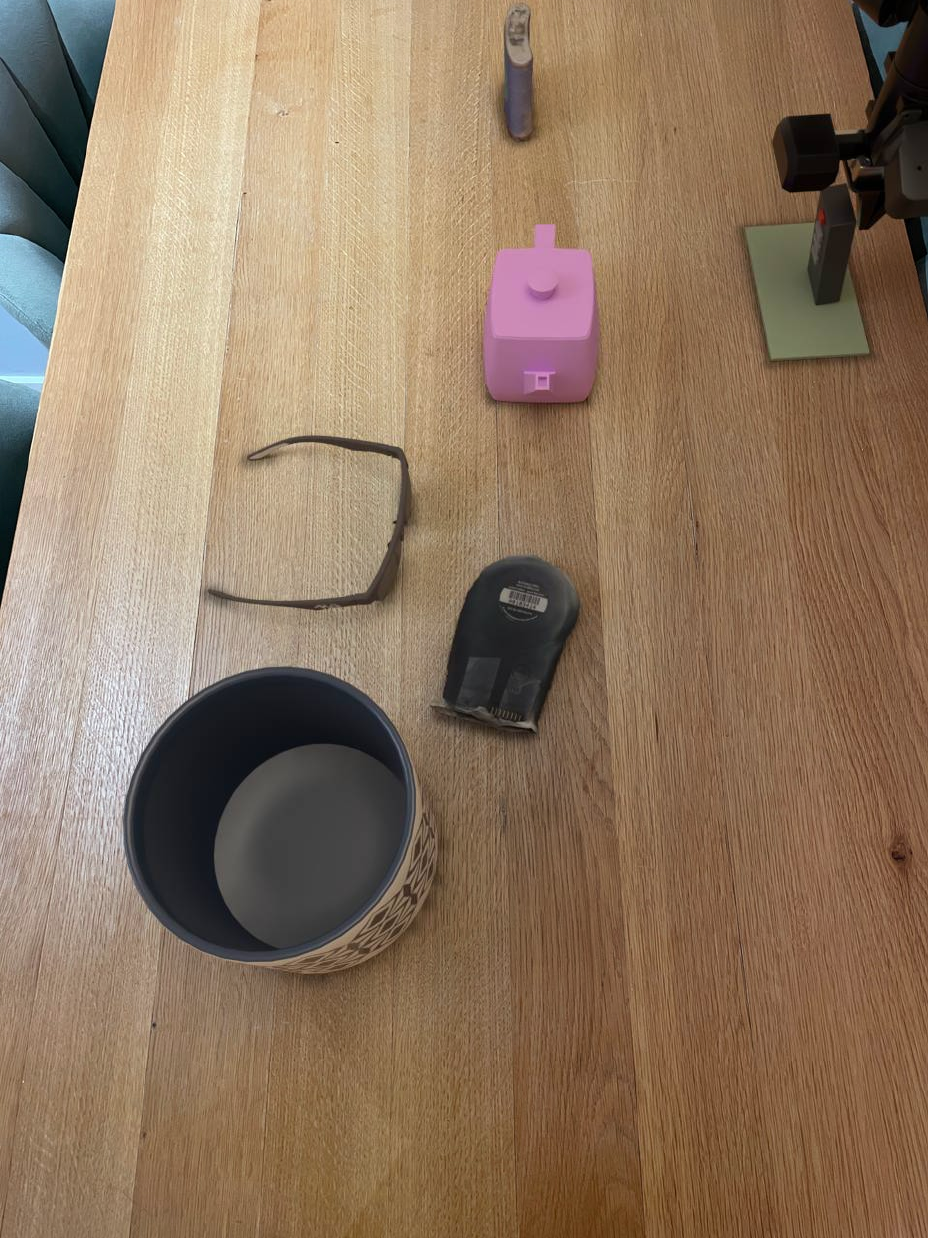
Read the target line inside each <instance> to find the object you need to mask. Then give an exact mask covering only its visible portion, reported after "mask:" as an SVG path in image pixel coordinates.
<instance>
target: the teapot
mask: <svg viewBox="0 0 928 1238" xmlns="http://www.w3.org/2000/svg"><path fill="white" fill-rule="evenodd" d="M555 241H556V224H555V223H553V224H549V223H547V224H546V223H537V224H536V223H535V228H534V244H533V247H523V248H522V247H521V248H502V249H500V250H498V252H497V255H496V257H495V260H494V265H493V268H492V269H493V270H492V275H491V280H490V284H489V290H488V296H487V302H486V308H485V314H484V315H485V316H484V326H483V362H484V363H483V364H484V367H483V368H484V375H485V382H486V386H487V389H488V392H489V394H490V396H491V397H492V399H493V400H495V401H499V402H508V403H509V402H511V403H512V402H513V403H535V404H536V403H537V404H540V403H541V404H546V403H547V404H551V403H552V404H556V403H557V404H559V403H560V404H562V403H563V404H564V403H565V404H567V403H581V402H584V401H585V400H586V399H587V398H588V397H589V395H590V393H591V391H592V388H593V384H594V380H595V376H596V370H597V363H598V353H599V344H600V343H599V340H600V338H599V337H600V336H599V335H600V319H599V318H600V315H599V302H598V295H597V285H596V277H595V271H594V266H593V265H594V264H593V258H592V255H591V253H590V251H589V250H587V249H582V248H561V247H560V248H559V247H557V248H556V247H555V243H556V242H555Z"/></svg>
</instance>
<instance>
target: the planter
mask: <svg viewBox="0 0 928 1238" xmlns="http://www.w3.org/2000/svg"><path fill="white" fill-rule="evenodd" d="M136 763H137V764H136V765H135V768H134V770H133V772H132V775H131V778H130V782H129V784H128V789H127V792H126V795H125V801H124V810H123V817H122V835H123V836H122V837H123V848H124V854H125V859H126V864H127V868H128V871H129V875H130V876H131V879H132V882H133V884H134V887H135V890H136V891H137V893H138V894H139V896H140V898H141V899H142V902H143V903H144V905H145V906H146V908H147V910H148V911H149V912H150V913H151V914H152V915H153V917H154V918H155V919H156V920H157V921H158V923H160V925H161V926H162V927H163V928H164V929H166V930H167V931H168V932H169V933H170V934H171V935H173V936H174V937H176V938H177V940H179V941H180V942H182V943H183V944H186V945H188V946H189V947H191V948H193V949H195V950H197V951H199V952H200V953H203V954H205V955H208V956H212V957H214V958H218V959H220V960H224V961H228V962H231V963H237V964H243V965H248V966H253V967H259V968H265V969H272V970H278V971H282V972H283V971H284V972H290V973H296V974H297V973H298V974H304V975H305V974H326V973H332V972H338V971H342V970H346V969H348V968H351V967H354V966H358V965H360V964H362V963H364V962H366V961H367V960H369V959H371V958H373V957H375V956H376V955H378V954H380V953H381V952H383V951H384V950H385V949H387V948H388V947H389V946H390V945H391V944H393V943H394V942H395V941H396V940H397V939H398V938H399V937H401V935H402V934H403V933H404V932H405V930H407V929H408V928H409V927H410V925H411V924H412V922H413V921H414V920H415V918H416V916H417V915H418V913H419V912H420V911H421V909H422V907H423V905H424V903H425V900H426V899H427V897H428V895H429V892H430V890H431V886H432V883H433V880H434V876H435V875H436V868H437V861H438V855H439V853H438V852H439V851H438V850H439V845H438V843H439V842H438V841H439V839H438V838H439V836H438V835H439V834H438V828H437V822H436V817H435V816H436V815H435V812H434V809H433V806H432V803H431V800H430V797H429V794H428V793H427V790H426V787H425V785H424V783H423V781H422V778H421V775H420V773H419V770H418V769H417V766H416V764H415V762H414V759H413V757H412V755H411V753H410V751H409V748H408V746H407V745H406V743H405V741H404V739H403V737H402V735H401V733H400V731H399V729H398V728H397V726H396V725H395V723H394V722H393V720H392V719H391V717H390V716H389V715H388V714H387V712H386V711H385V710H384V708H382V707H381V705H379V704H378V703H377V702H376V701H375V700H374V699H373V698H372V697H371V696H369V695H368V694H367V693H366V692H364V691H363V690H361V689H360V688H358V687H357V686H355V685H354V684H353V683H350V682H348V681H347V680H344V679H342V678H340V677H338V676H335V675H334V674H332V673H327V672H324V671H321V670H317V669H313V668H309V667H308V668H307V667H299V666H291V665H286V666H285V665H283V666H282V665H281V666H265V667H260V668H259V667H258V668H254V669H249V670H244V671H242V672H239V673H238V672H237V673H235V674H232V675H229V676H227V677H223V678H222V679H219V680H217V681H216V682H214V683H212V684H210V685H208V686H206V687H204V688H203V689H201V690H199V691H198V692H196V693H195V694H193V695H192V696H190V697H189V698H188V699H186V700H184V702H182V704H181V705H179V706H178V707H177V708H176V709H175V710H174V711H173V712H172V713H170V715H169V716H168V717H167V718H166V719H165V720H164V721H163V723H162V724H161V725H160V726H159V728H157V730H156V731H155V732H154V733H153V735H152V737H151V738H150V740H149V741H148V743H147V745H146V746H145V748H144V749H143V751H142V752H141V754H140V757H139V759H138V761H137V762H136Z"/></svg>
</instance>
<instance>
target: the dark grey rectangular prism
mask: <svg viewBox="0 0 928 1238" xmlns="http://www.w3.org/2000/svg"><path fill="white" fill-rule="evenodd" d="M818 195H819V196H818V200H817V201H818V202H817V208H816V214H815V220H814V223H815V225H814V231H813V237H812V243H811V249H810V256H809V262H808V268H807V270H808V274H809V279H810V283H811V288H812V292H813V296H814V301H815V305H822V304H827V303H833V302H839V301H840V297H841V292H842V288H843V283H844V279H845V274H846V269H847V265H848V266H849V260H850V256H851V250H852V246H853V243H854V237H855V232H856V228H857V216H856V213H855V210H854V206H853V202H852V199H851V194H850V189H849V186H848V182H844V183H839V184H834V185H833V184H832V185H830V186H829V187H827V188H826V189H824V190H823V191H819V194H818Z"/></svg>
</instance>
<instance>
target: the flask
mask: <svg viewBox="0 0 928 1238" xmlns="http://www.w3.org/2000/svg"><path fill="white" fill-rule="evenodd" d="M531 11H532V10H531V6H529V5H527V4H526V3H524V2H516V3H513V4H511V5H510V6H509V7H508V9H507V12H506V16H505V21H504V25H503V52H504V53H503V55H504V56H503V61H504V62H503V71H504V75H503V77H504V82H503V86H504V92H503V93H504V97H503V112H504V117H505V123H506V128H507V132H508V134H509V136H510V137H511V139H512V140H513V141H517V142H522V141H528V140H529V139H530V137H531V135H532V131H533V123H532V122H533V118H532V117H533V114H532V113H533V73H534V68H533V67H534V54H533V51H532V48H531V45H530V43H531V42H530V41H531V40H530V39H531V38H530V37H531V18H532V17H531V13H532V12H531Z"/></svg>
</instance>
